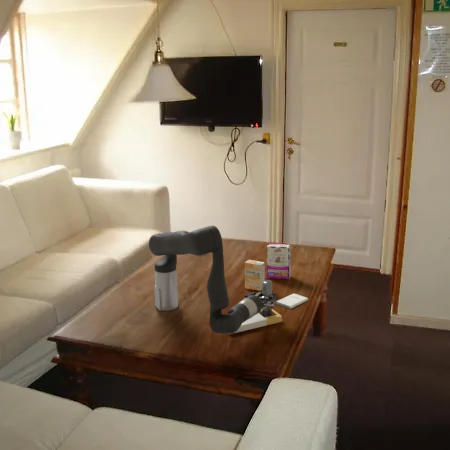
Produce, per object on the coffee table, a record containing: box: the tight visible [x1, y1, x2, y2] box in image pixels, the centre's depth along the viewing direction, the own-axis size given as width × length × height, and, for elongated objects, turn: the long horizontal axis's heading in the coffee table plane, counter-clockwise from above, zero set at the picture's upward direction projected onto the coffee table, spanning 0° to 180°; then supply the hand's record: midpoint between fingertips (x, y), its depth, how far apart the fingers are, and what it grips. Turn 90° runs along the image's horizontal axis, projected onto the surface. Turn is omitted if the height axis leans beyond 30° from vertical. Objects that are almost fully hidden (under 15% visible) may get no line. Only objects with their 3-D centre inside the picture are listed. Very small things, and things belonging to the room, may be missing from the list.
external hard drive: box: [275, 293, 309, 309], centre depth 254 cm, size 2×8×12 cm
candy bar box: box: [266, 243, 292, 280], centre depth 280 cm, size 11×5×16 cm, turn 76°
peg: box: [261, 279, 273, 318], centre depth 236 cm, size 4×4×15 cm
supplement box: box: [244, 259, 266, 292], centre depth 268 cm, size 8×5×13 cm, turn 62°
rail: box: [231, 308, 283, 335], centre depth 235 cm, size 24×10×2 cm, turn 116°
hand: (270, 293), depth 237 cm, fingers closed on peg, 4 cm apart
